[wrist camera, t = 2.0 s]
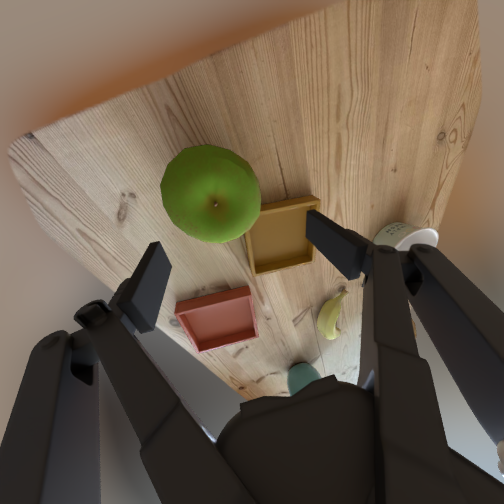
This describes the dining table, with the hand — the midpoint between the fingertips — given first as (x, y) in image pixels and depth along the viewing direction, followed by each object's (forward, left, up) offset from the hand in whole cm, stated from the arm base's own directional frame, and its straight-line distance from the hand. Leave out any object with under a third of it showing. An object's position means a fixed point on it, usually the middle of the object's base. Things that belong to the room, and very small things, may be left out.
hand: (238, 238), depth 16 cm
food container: (+38, -19, -18) cm, 46 cm away
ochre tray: (+9, -11, -18) cm, 23 cm away
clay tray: (-8, -32, -18) cm, 37 cm away
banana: (+26, -43, -18) cm, 54 cm away
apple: (-2, +1, -18) cm, 18 cm away
